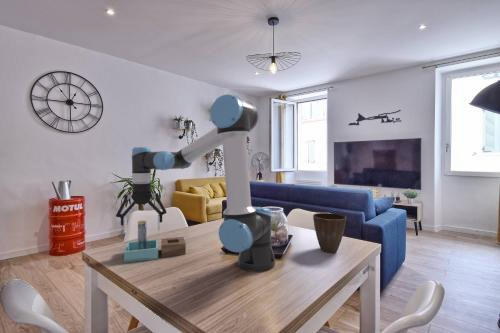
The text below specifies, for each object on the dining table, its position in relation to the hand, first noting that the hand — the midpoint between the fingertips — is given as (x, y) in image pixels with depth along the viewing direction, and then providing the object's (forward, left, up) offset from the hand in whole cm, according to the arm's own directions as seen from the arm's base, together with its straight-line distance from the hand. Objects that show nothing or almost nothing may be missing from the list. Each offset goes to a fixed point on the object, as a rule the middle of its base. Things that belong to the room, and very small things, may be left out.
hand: (142, 231), depth 113 cm
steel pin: (0, 0, -10) cm, 10 cm away
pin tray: (0, 0, -11) cm, 11 cm away
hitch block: (0, -13, -11) cm, 17 cm away
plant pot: (-21, -82, -11) cm, 85 cm away
